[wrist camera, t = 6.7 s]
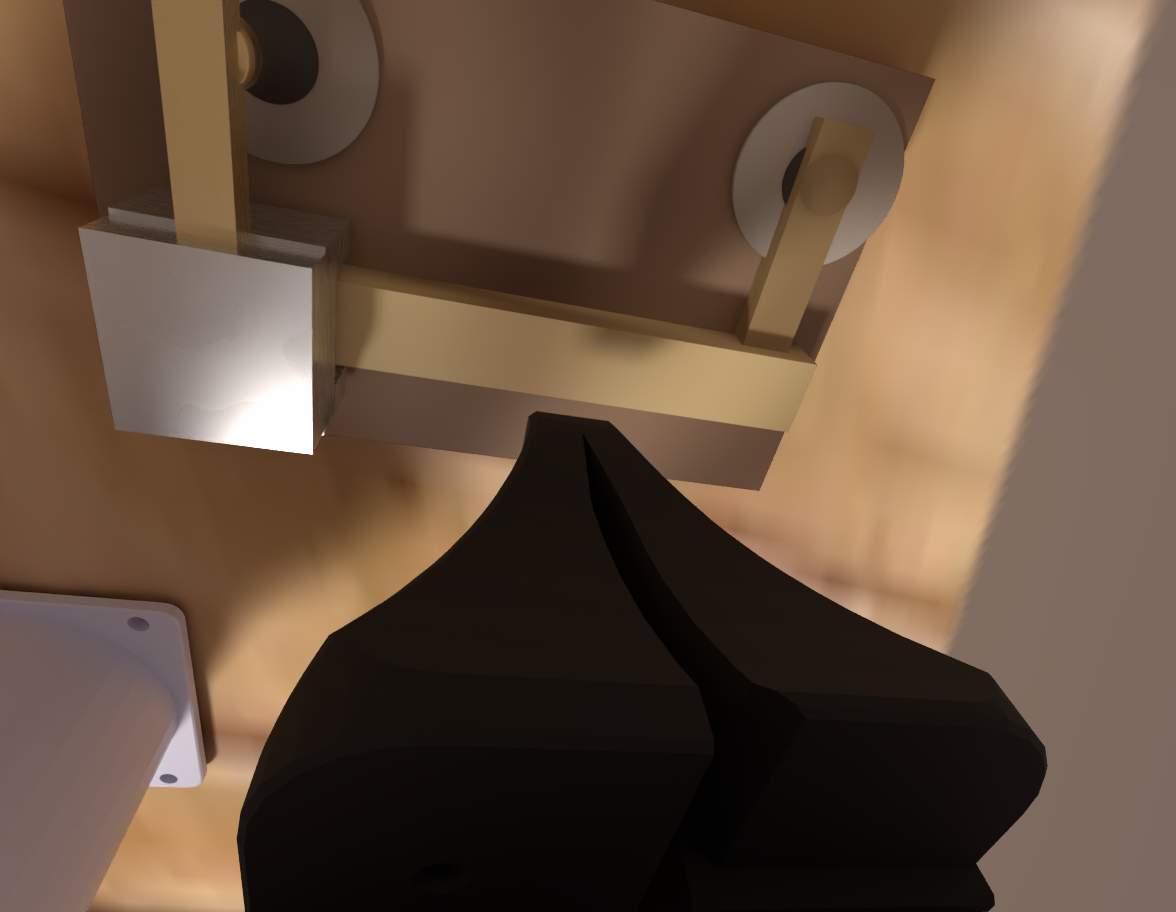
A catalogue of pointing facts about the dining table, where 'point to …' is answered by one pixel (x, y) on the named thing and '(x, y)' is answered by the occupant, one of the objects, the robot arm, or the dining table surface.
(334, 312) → the sliding leg
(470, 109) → the wooden mechanism board
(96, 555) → the dining table surface
